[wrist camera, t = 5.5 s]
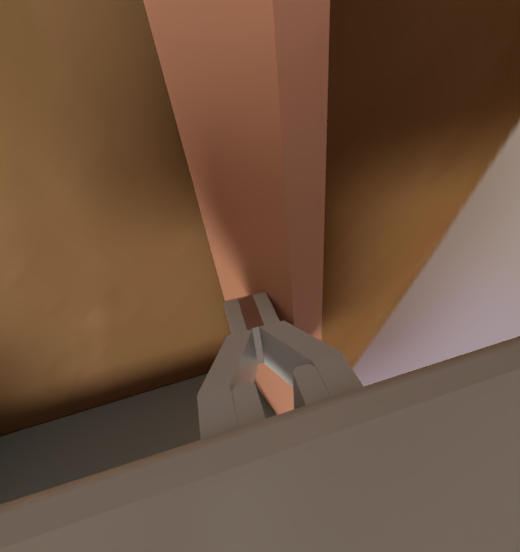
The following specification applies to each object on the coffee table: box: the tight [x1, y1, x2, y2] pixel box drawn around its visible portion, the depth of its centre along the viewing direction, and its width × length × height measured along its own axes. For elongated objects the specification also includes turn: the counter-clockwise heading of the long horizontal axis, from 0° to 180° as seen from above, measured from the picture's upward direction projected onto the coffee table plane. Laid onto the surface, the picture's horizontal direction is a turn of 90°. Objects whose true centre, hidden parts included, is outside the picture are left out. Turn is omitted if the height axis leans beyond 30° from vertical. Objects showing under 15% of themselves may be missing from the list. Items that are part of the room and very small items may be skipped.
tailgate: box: [143, 0, 330, 415], centre depth 11 cm, size 18×1×6 cm, turn 8°
